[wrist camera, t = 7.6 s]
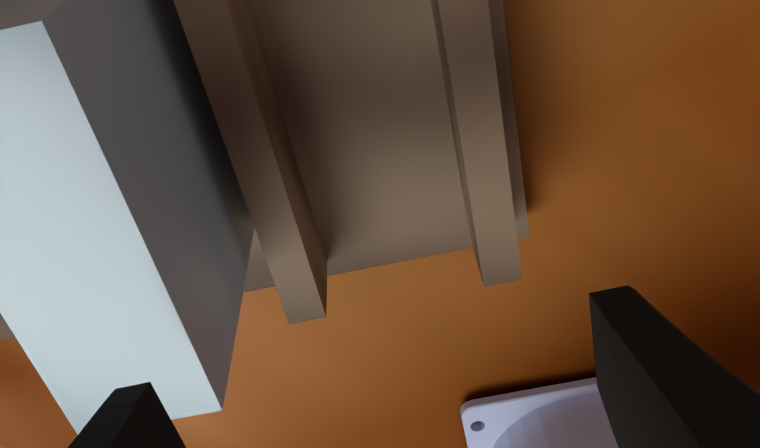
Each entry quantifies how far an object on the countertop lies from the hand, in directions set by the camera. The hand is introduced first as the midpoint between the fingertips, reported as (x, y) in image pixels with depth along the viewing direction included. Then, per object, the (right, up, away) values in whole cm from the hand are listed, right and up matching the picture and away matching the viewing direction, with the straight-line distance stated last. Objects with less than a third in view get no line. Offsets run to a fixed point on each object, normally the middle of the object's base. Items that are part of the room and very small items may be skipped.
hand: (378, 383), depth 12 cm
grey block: (-6, +6, +7) cm, 10 cm away
